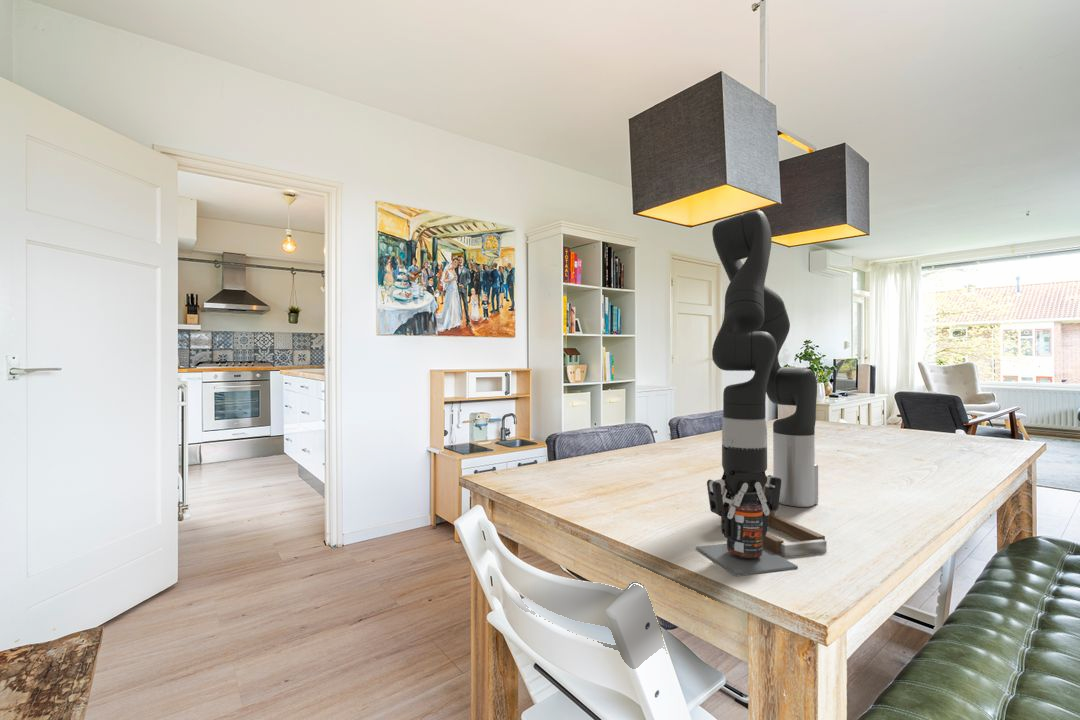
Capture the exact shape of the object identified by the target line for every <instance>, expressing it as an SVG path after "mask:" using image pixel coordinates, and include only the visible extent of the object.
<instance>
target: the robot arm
mask: <svg viewBox="0 0 1080 720" xmlns="http://www.w3.org/2000/svg"><path fill="white" fill-rule="evenodd" d="M711 234H712V239H713V240H712V241H713V244H714V248H715V250H716V253H717V255H718V258H719V260H720V262H721V264H722V267H723V269H724V271H725V273H726V275H727V277H728V280H729V284H728V286H727V288H726V292H725V295H724V311H723V313H724V314H723V320H722V323H721V326H720V329H718V333H717V334H716V336H715V339H714V342H713V344H712V350H711V353H712V354H711V356H712V360H713V363H714V365H715V366H716V367H717V368H719V369H720V370H722V371H725V372H726V371H727V372H728V371H729V372H735V371H739V372H743V371H744V372H746V371H747V372H748V371H749V372H751V371H752V372H754V374H753V376H752V377H751V378H750V379H749V380H748V381H744V382H740V383H735V384H734V383H733V384H729V385H726V387H725V388H724V390H723V395H722V401H723V402H722V407H723V409H722V410H723V411H722V412H723V413H722V415H723V417H722V426H721V465H722V469H723V474H722V475H721V478H720V479H715V480H713V479H708V480H707V482H706V487H707V495H708V501H709V502H708V503H709V509H710V511H711V512H712V513H714V514H716V515H718V516H719V517H720V518H721V519H720V523H721V524H720V527H721V528H720V530H721V531H720V532H721V534H722V535H723V536H724V538H726V540H727V539H729V540H731V539H734V519H733V516H734V513H735V511H736V508H738V507H739V506H740V503H741V501H742V498H743V496H744V494H745V493H746V492H756V493H757V501H758V503H759V504H760V505H762V508H763V536H765V535H766V532H767V533H768V530H769V527H768V515H769V513H770V512H771V511H775V512H777V511H778V510H779V505H785V506H791V507H797V508H798V507H800V508H804V507H805V508H807V507H808V508H809V507H813V506H815V505H816V504H817V505H818V504H819V465H818V464H816V463H815V462H816V461H815V459H816V457H815V456H816V452H815V451H816V450H815V449H816V448H815V447H816V445H815V438H816V437H815V429H816V421H817V420H816V418H817V399H818V397H817V396H818V380H817V376H816V374H815V372H814V371H813V370H811V369H809V368H783V367H782V366H781V364H780V362H779V354H780V352H781V349H782V347H783V345H784V343H785V341H786V339H787V338H788V335H789V332H790V328H791V323H790V319H789V315H788V312H787V308H786V306H785V302H784V301H783V298H781V296H780V295H779V294H778V293H777V292H776V291H774V290H773V289H772V288H770V287H769V286H768V285H766V284H765V283H766V277H767V272H768V267H769V261H770V256H771V251H772V250H771V249H772V231H771V226H770V222H769V220H768V218H767V216H766V214H765V213H764V212H763V211H762V210H758V209H757V210H752V211H748V212H744V213H741V214H737V215H735V216H731V217H730V218H726V219H724V220H720V221H718V222H717V223H715V224H714V225H713V226H712V233H711ZM743 259H746V260H745V261H744V262H742V260H743ZM766 398H768V399H769V401H770V402H771V403H773V404H775V405H780V406H796V407H795V412H794V413H792V414H791V415H789V416H787V417H782V418H779V419H776V420H774V421H773V424H772V428H773V429H772V437H773V438H772V453H773V454H772V462H773V463H772V468H773V469H772V472H773V474H772V475H771V474H769V475H767V474H766V471H767V470H768V428H767V422H766V420H767V419H766V413H767V412H766V409H767V408H766V406H767V405H766V404H767V403H766ZM764 486H766V487H765V495H764V493H763V491H762V489H763V488H764ZM723 487H725V488H726V490H725V493H724V495H723V498H722V492H723V491H724V490H723ZM731 497H732V498H734V499H733V500H731ZM771 498H772V501H771Z"/></svg>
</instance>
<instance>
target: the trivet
mask: <svg viewBox="0 0 1080 720" xmlns="http://www.w3.org/2000/svg"><path fill="white" fill-rule="evenodd" d="M695 548H696V550H698V551H699V552H700V553H701V554H703V555H704V556H707V557H708V558H709V559H710V560H712V561H713V562H715V563H717V565H719V566H721V567H722V568H724V569H725V570H726V571H728V572H729V571H730V573H731V574H732V573H733V574H732V575H734V576H735V575H736V577H738V576H739V575H740V576H745V575H746V574H748V575H754V574H762V573H770V572H779V571H787V570H788V571H789V570H797V569H799V567H798V565H796V564H795V563H793V562H791V561H789V560H787V558H785V557H782V556H781V555H779V554H775V553H773V552H771V551H769V550H767V549H766V548H764V547H763V550H762V555H761V556H760V557H758V558H751V559H749V558H741V557H738V556H735V555H733V554H731V553H730V552H729V551H728V549H727V542H726V543H720V544H719V543H717V544H709V545H699V546H696V547H695ZM746 576H747V575H746Z"/></svg>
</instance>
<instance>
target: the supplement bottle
mask: <svg viewBox="0 0 1080 720" xmlns="http://www.w3.org/2000/svg"><path fill="white" fill-rule="evenodd" d="M733 499H734V498H733ZM733 499H732V500H733ZM733 519H734V539H731V540H729V539H727V538H726V543H727V549H728V551H729V552H730V553H731V554H733V555H735V556H738V557H741V558H749V559H751V558H758V557H760V556H761V555H762V550H763V508H762V505H760V504H759V503H758V501H757V493H756V492H746V493H745V494H744V496H743V498H742V501H741V503H740V506H739V507H738V508H736V511H735V513H734V516H733Z"/></svg>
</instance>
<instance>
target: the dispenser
mask: <svg viewBox="0 0 1080 720" xmlns="http://www.w3.org/2000/svg"><path fill="white" fill-rule="evenodd" d="M765 487H766V486H764V488H763V489H762V491H763V493H764V495H765ZM723 490H724V491H723V492H722V498H723V495H724V493H725V490H726V488H725V487H723ZM732 499H733V498H732V497H731V500H732ZM771 501H772V498H771ZM775 513H776V511H771V512H770V513H769V515H768V528H771V529H773V530H776V531H778V532H779V533H782V534H784V535H786V536H788V537H790V538H792V539H794V540H796V541H792V542H784V540H783V539H782V538H779V537H778V536H775V535H773V534H772V533H769V532H768V531H767V532H766V535H765V536H763V547H764V548H766V549H767V550H769V551H771V552H773V553H775V554H777V555H780V556H783V557H784V558H785V557H786V558H787V557H793V556H801V555H802V556H803V555H811V554H819V553H821V554H822V553H827V540H826V536H825V535H824V534H821V533H818V532H816V531H815V530H814V531H813V530H812V529H809V528H807V527H804V526H802V525H800V524H798V523H796V522H793V521H791V520H790V519H789V520H788V519H786V518H785V517H782V516H779V515H775Z"/></svg>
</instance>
